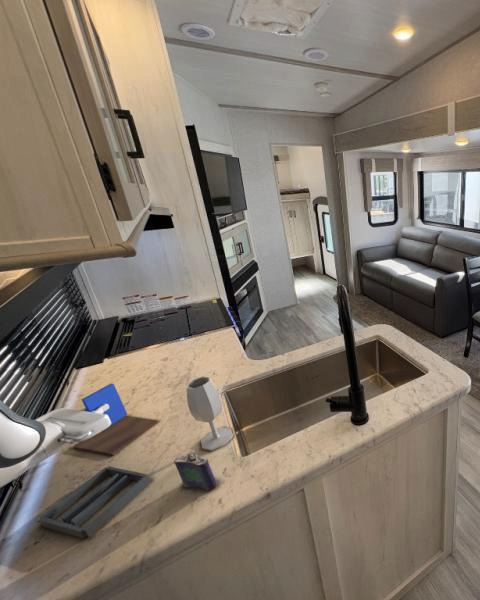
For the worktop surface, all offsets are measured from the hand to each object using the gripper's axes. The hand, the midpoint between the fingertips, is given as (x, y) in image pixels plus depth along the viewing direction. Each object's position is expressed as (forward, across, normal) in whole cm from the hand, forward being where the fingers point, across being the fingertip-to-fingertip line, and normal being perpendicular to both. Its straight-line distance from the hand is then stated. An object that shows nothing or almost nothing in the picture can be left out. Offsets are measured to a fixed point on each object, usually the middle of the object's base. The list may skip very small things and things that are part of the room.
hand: (104, 404), depth 95 cm
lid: (0, 0, +7) cm, 7 cm away
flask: (-10, -43, +12) cm, 46 cm away
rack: (-19, -21, +12) cm, 31 cm away
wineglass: (+4, -35, +12) cm, 37 cm away
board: (0, 0, +12) cm, 12 cm away
